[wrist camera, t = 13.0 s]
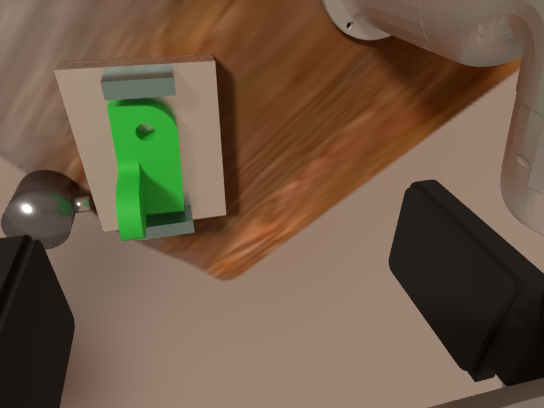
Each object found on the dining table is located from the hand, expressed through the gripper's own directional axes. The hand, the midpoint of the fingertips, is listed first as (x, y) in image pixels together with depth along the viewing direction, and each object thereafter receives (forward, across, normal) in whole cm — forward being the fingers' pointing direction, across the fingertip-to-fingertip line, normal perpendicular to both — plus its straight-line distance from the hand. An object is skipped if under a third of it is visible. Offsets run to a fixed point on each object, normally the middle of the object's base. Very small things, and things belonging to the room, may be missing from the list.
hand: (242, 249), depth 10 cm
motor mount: (+33, +8, +12) cm, 36 cm away
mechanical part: (+31, +4, +12) cm, 33 cm away
